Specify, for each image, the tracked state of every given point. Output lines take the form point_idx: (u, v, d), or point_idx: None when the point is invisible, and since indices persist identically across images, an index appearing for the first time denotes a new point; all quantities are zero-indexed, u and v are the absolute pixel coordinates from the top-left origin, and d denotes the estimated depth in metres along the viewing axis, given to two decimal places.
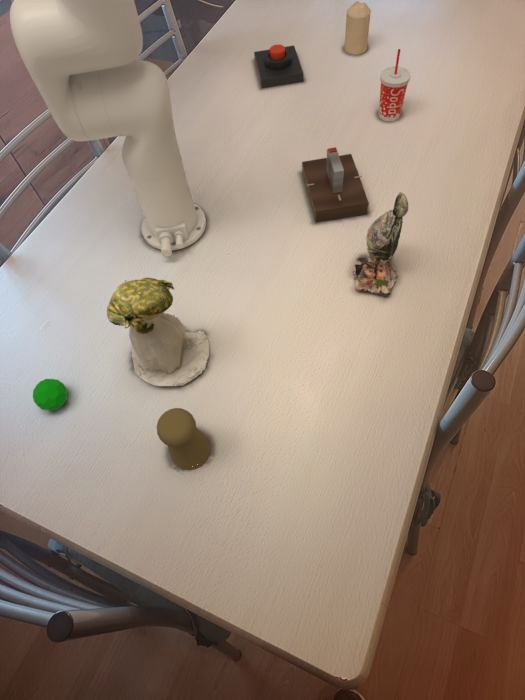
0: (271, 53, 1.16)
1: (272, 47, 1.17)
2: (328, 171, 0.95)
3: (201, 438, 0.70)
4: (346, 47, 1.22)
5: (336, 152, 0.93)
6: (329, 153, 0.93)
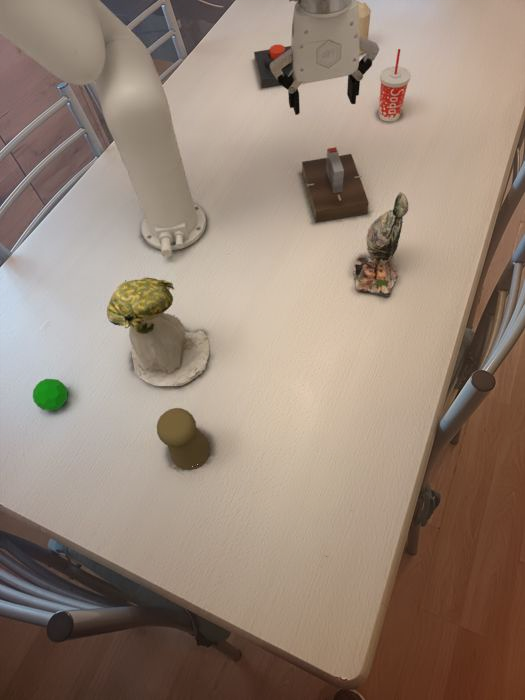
0: (271, 53, 1.16)
1: (272, 47, 1.17)
2: (328, 171, 0.95)
3: (201, 438, 0.70)
4: None
5: (336, 152, 0.93)
6: (329, 153, 0.93)
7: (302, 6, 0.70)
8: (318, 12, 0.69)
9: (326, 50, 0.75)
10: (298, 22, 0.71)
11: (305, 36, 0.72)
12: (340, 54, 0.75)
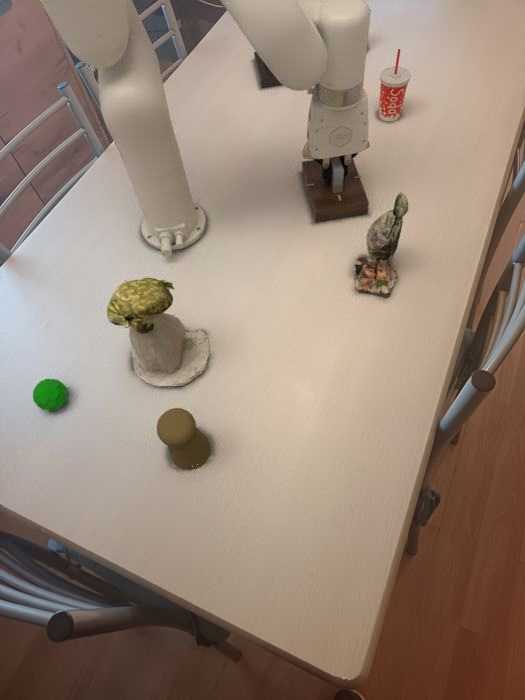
0: None
1: None
2: None
3: (201, 438, 0.70)
4: None
5: None
6: None
7: (319, 99, 0.80)
8: (333, 105, 0.79)
9: (339, 134, 0.84)
10: (315, 112, 0.81)
11: (320, 123, 0.82)
12: (351, 137, 0.85)
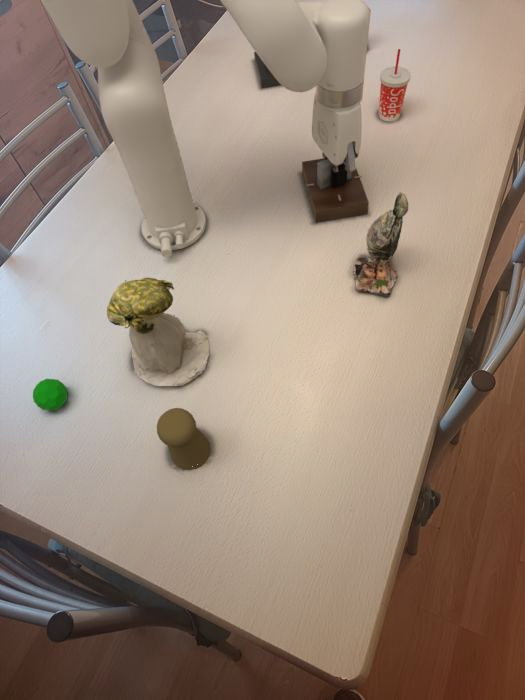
0: None
1: None
2: None
3: (201, 438, 0.70)
4: None
5: None
6: None
7: None
8: None
9: (322, 128, 0.85)
10: None
11: (314, 104, 0.85)
12: (327, 140, 0.85)
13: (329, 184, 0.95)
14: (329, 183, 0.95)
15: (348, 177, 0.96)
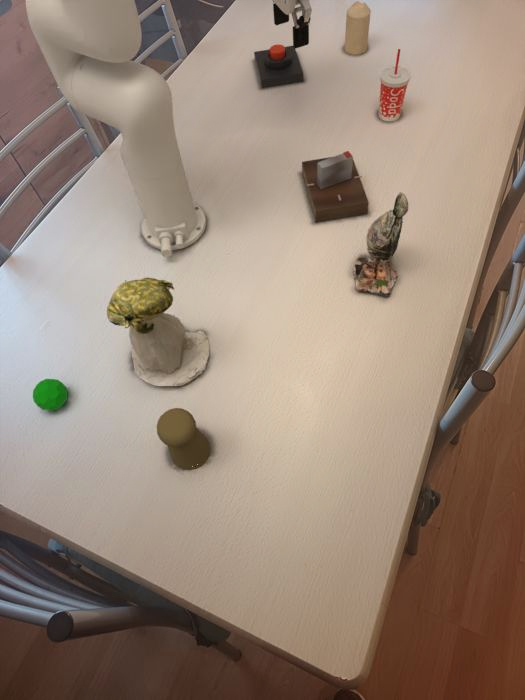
0: (271, 53, 1.16)
1: (272, 47, 1.17)
2: None
3: (201, 438, 0.70)
4: (346, 47, 1.22)
5: (345, 158, 0.92)
6: (342, 154, 0.92)
7: None
8: None
9: None
10: None
11: None
12: None
13: (329, 184, 0.95)
14: (329, 183, 0.95)
15: (348, 177, 0.96)
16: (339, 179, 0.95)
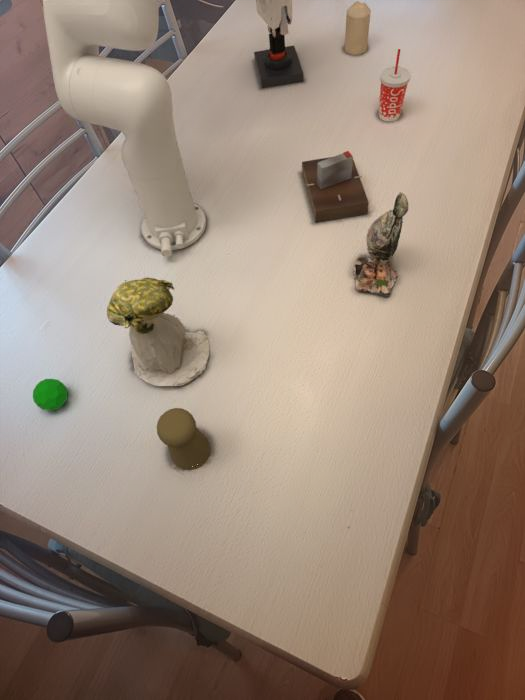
0: (271, 56, 1.17)
1: None
2: None
3: (201, 438, 0.70)
4: (346, 47, 1.22)
5: (345, 158, 0.92)
6: (342, 154, 0.92)
7: None
8: None
9: None
10: None
11: None
12: (266, 7, 1.06)
13: (329, 184, 0.95)
14: (329, 183, 0.95)
15: (348, 177, 0.96)
16: (339, 179, 0.95)
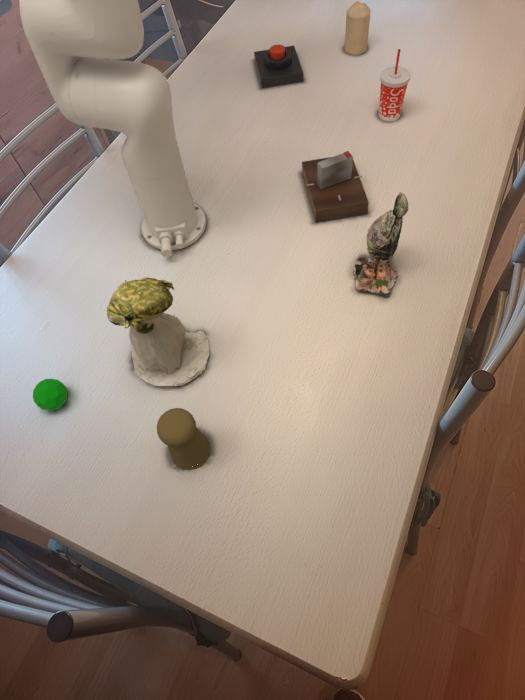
0: (271, 53, 1.16)
1: (272, 47, 1.17)
2: None
3: (201, 438, 0.70)
4: (346, 47, 1.22)
5: (345, 158, 0.92)
6: (342, 154, 0.92)
7: None
8: None
9: None
10: None
11: None
12: None
13: (329, 184, 0.95)
14: (329, 183, 0.95)
15: (348, 177, 0.96)
16: (339, 179, 0.95)
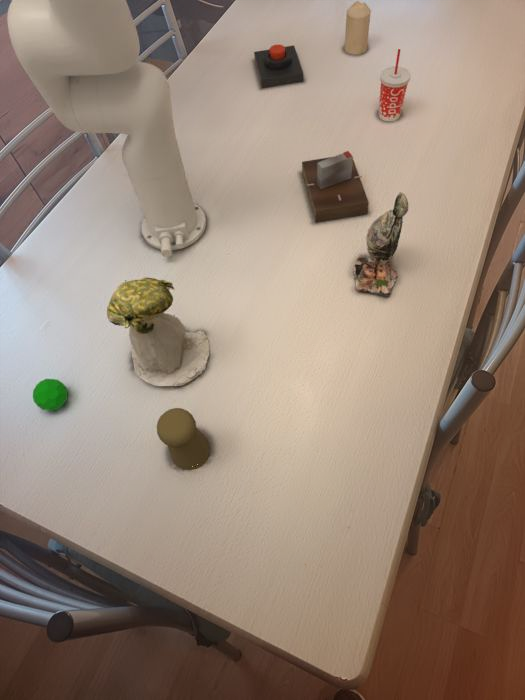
0: (271, 53, 1.16)
1: (272, 47, 1.17)
2: None
3: (201, 438, 0.70)
4: (346, 47, 1.22)
5: (345, 158, 0.92)
6: (342, 154, 0.92)
7: None
8: None
9: None
10: None
11: None
12: None
13: (329, 184, 0.95)
14: (329, 183, 0.95)
15: (348, 177, 0.96)
16: (339, 179, 0.95)
